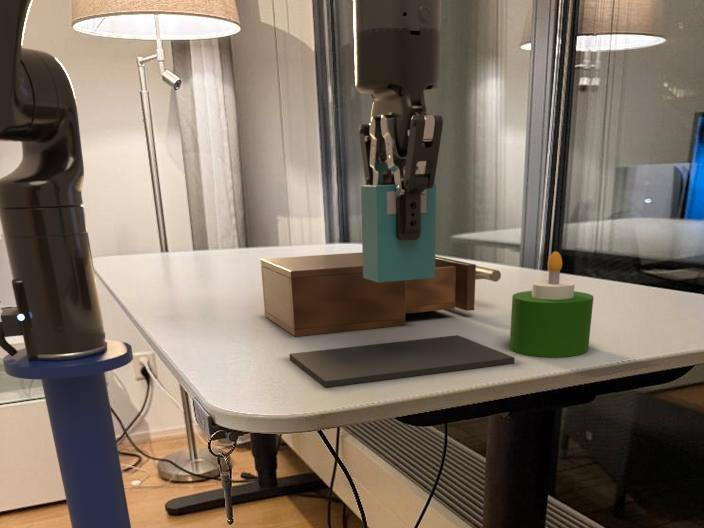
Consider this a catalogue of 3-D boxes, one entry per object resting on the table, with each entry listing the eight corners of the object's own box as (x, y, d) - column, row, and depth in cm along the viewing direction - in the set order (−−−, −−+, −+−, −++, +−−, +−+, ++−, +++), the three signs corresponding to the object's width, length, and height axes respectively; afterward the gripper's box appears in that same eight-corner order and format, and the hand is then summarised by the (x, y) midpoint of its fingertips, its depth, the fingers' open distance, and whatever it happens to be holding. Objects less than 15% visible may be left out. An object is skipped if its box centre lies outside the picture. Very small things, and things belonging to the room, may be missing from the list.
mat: (325, 387, 66) (325, 381, 66) (289, 359, 76) (289, 353, 76) (514, 363, 72) (514, 357, 72) (457, 340, 83) (457, 334, 83)
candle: (605, 350, 76) (616, 252, 72) (541, 360, 73) (548, 258, 69) (554, 336, 83) (562, 245, 79) (494, 344, 80) (499, 250, 76)
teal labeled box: (378, 282, 68) (376, 185, 65) (362, 277, 72) (360, 185, 68) (435, 278, 70) (436, 183, 67) (417, 273, 74) (417, 183, 70)
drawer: (463, 292, 108) (465, 252, 106) (512, 306, 97) (514, 261, 94) (343, 303, 102) (341, 260, 100) (379, 319, 90) (378, 271, 88)
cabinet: (363, 307, 104) (362, 252, 101) (405, 325, 91) (405, 262, 88) (264, 316, 99) (260, 259, 96) (294, 336, 87) (290, 271, 84)
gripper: (329, 42, 68) (336, 235, 74) (389, 12, 55) (391, 246, 62) (402, 44, 70) (403, 231, 77) (475, 16, 58) (468, 241, 65)
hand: (398, 236), depth 69 cm, fingers closed on teal labeled box, 4 cm apart
